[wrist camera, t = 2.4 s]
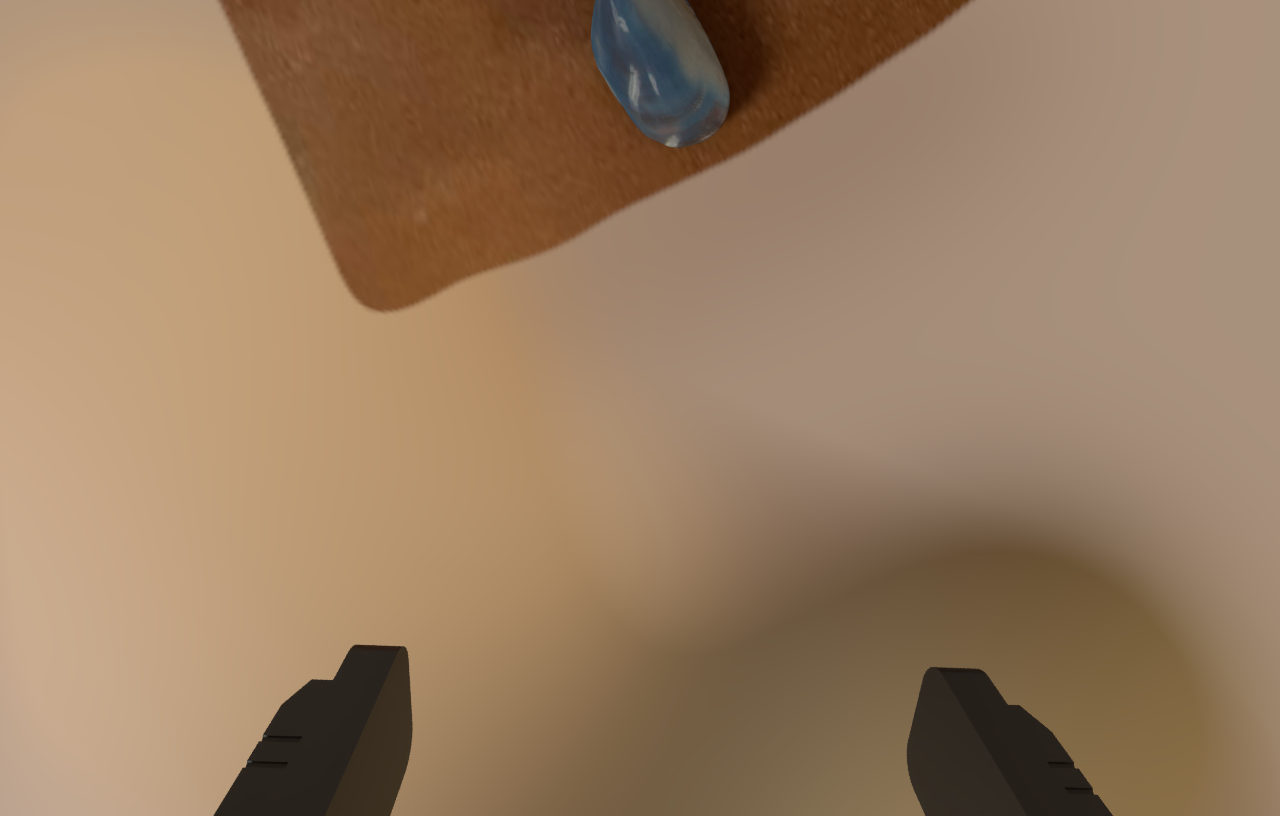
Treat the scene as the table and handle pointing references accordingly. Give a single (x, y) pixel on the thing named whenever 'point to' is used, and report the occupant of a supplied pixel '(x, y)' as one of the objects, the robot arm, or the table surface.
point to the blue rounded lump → (661, 68)
